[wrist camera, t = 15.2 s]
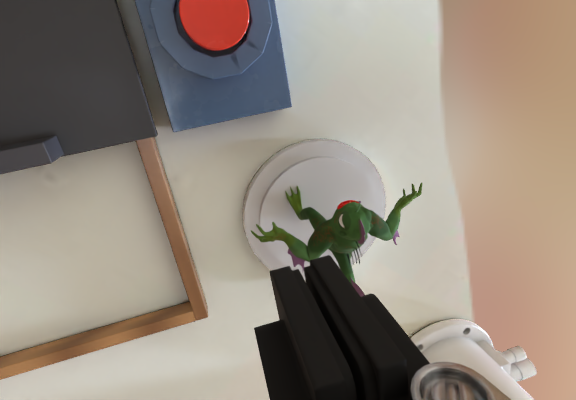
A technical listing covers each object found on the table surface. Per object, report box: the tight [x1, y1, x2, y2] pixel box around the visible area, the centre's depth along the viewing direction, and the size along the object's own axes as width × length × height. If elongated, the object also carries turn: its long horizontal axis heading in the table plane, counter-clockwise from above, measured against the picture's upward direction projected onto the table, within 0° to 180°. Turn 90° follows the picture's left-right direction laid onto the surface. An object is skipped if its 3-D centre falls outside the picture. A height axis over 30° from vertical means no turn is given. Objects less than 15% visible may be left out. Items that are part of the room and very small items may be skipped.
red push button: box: [179, 0, 249, 51], centre depth 20 cm, size 4×4×2 cm
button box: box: [135, 0, 292, 132], centre depth 22 cm, size 8×12×4 cm, turn 10°
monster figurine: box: [243, 139, 422, 297], centre depth 26 cm, size 12×12×10 cm
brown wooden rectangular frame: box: [0, 137, 208, 380], centre depth 24 cm, size 20×27×2 cm
